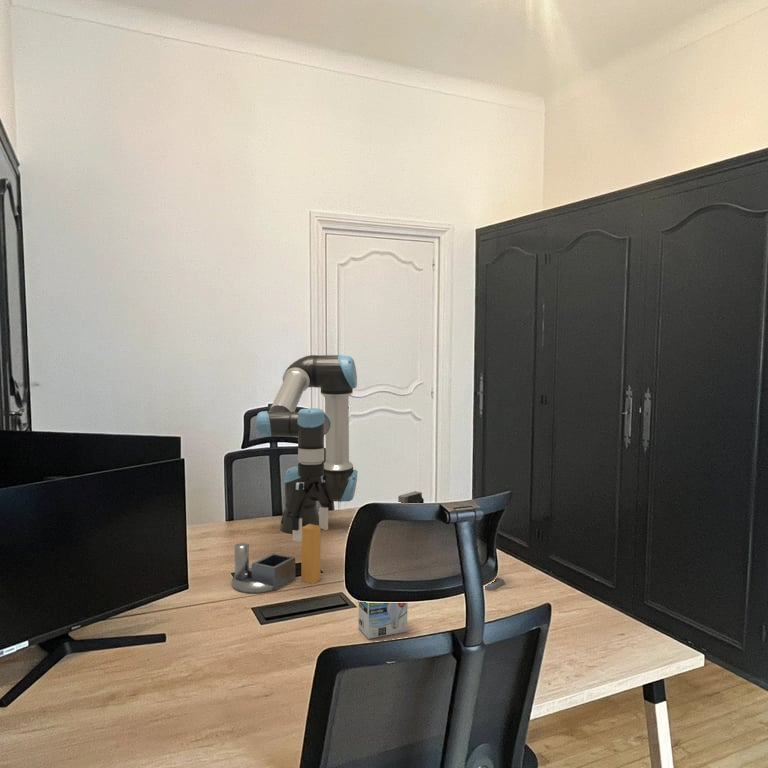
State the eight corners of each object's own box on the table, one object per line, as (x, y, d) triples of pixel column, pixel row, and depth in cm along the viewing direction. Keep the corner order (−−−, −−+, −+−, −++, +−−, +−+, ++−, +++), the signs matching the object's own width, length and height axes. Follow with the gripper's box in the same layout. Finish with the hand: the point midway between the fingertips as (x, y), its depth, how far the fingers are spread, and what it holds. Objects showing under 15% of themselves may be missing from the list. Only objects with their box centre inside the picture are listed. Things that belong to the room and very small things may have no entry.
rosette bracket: (254, 570, 193) (254, 534, 192) (295, 579, 186) (295, 542, 185) (220, 587, 180) (220, 549, 179) (263, 597, 173) (263, 558, 172)
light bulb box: (368, 640, 149) (368, 595, 148) (357, 628, 155) (357, 585, 154) (408, 631, 154) (409, 588, 153) (396, 620, 160) (396, 578, 159)
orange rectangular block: (309, 576, 188) (309, 524, 187) (320, 579, 186) (320, 525, 185) (301, 581, 185) (301, 527, 183) (312, 583, 183) (312, 529, 182)
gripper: (323, 454, 196) (323, 522, 197) (274, 468, 174) (274, 544, 175) (344, 456, 192) (343, 525, 194) (296, 470, 170) (296, 548, 171)
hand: (310, 534), depth 184 cm, fingers open, 13 cm apart
